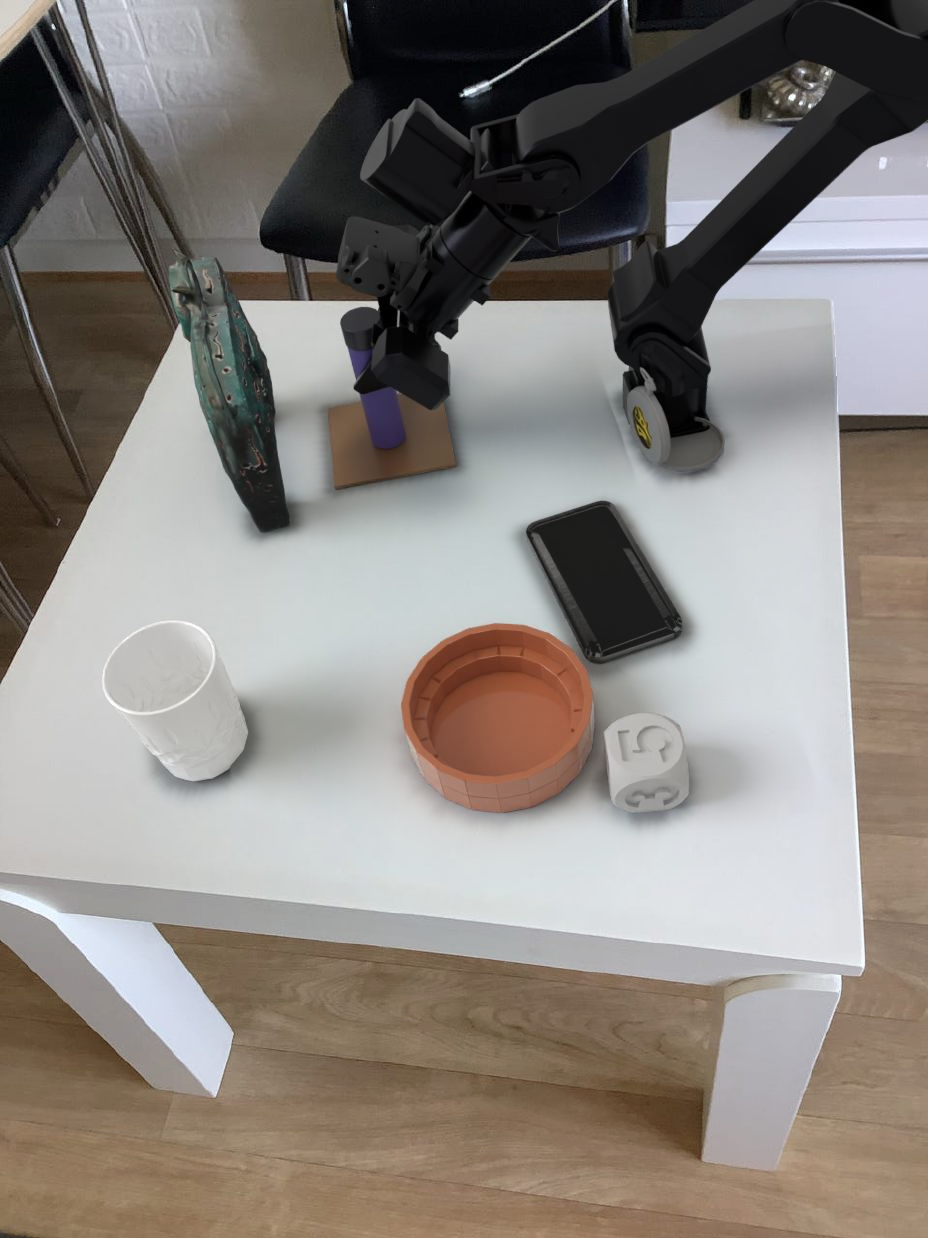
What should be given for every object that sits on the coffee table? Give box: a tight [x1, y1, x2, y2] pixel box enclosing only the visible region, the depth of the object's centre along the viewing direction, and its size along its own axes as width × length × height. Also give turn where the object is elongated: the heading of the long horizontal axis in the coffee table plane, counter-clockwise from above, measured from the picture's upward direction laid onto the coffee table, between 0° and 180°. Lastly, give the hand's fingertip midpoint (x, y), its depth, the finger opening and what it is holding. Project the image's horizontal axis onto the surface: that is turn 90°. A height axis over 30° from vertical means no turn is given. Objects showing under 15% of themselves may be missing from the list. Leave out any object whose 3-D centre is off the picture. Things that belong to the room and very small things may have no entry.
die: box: [602, 712, 690, 814], centre depth 70 cm, size 5×5×5 cm
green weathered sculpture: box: [168, 247, 291, 533], centre depth 90 cm, size 20×6×20 cm, turn 15°
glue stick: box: [339, 306, 406, 449], centre depth 92 cm, size 3×3×13 cm
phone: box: [525, 500, 683, 665], centre depth 83 cm, size 8×1×15 cm
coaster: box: [327, 393, 457, 490], centre depth 97 cm, size 11×11×1 cm
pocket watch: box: [627, 368, 726, 473], centre depth 88 cm, size 8×8×10 cm
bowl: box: [400, 622, 596, 813], centre depth 74 cm, size 13×13×4 cm
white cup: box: [101, 619, 249, 782], centre depth 75 cm, size 8×8×10 cm
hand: (358, 377), depth 91 cm, fingers closed on glue stick, 3 cm apart
